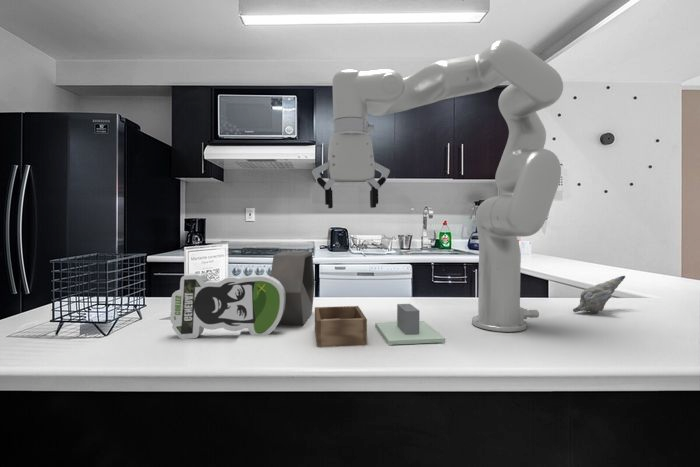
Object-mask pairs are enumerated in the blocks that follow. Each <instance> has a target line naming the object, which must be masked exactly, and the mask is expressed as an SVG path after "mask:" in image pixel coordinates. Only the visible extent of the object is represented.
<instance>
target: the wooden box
mask: <svg viewBox="0 0 700 467" xmlns="http://www.w3.org/2000/svg"><path fill="white" fill-rule="evenodd" d="M324 319H327V320H324ZM314 333H315V343H316V348H326V347H327V348H329V347H331V348H332V347H334V348H335V347H351V346H353V347H354V346H355V347H357V346H367V345H368V338H367V337H368V318H366V316H365V314H364V312H363V311H362V310H361V307H360V306H359V305H348V306H347V305H346V306H342V305H341V306H315V307H314Z"/></svg>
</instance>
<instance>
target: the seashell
mask: <svg viewBox="0 0 700 467" xmlns="http://www.w3.org/2000/svg"><path fill="white" fill-rule="evenodd" d="M625 279H626V276H625V275H621V276H617V277H615V278H611V279H609V280H606V281H604V282H602V283H598V284H596V285H595V286H592V287H588V288H585V289H584V290H583V291H582V292H581V294H580V298H579V304H578V306H577V307H574V308H573V309H572V311H573V312H574V313H578V312H584V311H586V312H589V313H591V314H597V313H599V312H602V311H603V310H604V309H605V306H606V304H607V302H608V301H609V300H610V299H611V298H612V294H614V292H615V290H616V289H617V288H618V287H619V285H620V284H621V283H622V282H624V280H625Z"/></svg>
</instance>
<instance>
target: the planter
mask: <svg viewBox="0 0 700 467" xmlns="http://www.w3.org/2000/svg"><path fill="white" fill-rule="evenodd" d="M313 258H314V257H313V251H282V252H279V253H275V254H273V257H272V264H271V268H270V275H269V276H270V277H273V278H275V279H277V280H278V281H279V282H280V283H281V284H282V285H283V287H284V290H285V295H286V303H285V310H284V313H283V316H282V318H281V320H280V322H279V323H278V325H277V326H305V325H306V324H307V321H308V320H309V319H310V318H311V316H312V314H313V307H314V306H313V305H314V297H315V296H314V294H315V283H316V282H315V272H314V260H313Z"/></svg>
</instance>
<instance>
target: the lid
mask: <svg viewBox="0 0 700 467" xmlns="http://www.w3.org/2000/svg"><path fill="white" fill-rule="evenodd" d="M396 307H397V310H396V312H397V313H396V314H397V316H396V321H382V322H381V321H380V322H379V321H378V322H375V323H374V324H375V326H374V327H375V328H376V330H377V331H378V333H379V334H380V335H381V337H382V338H383V340H384V341H385V343H386V344H387V346H390V347H391V346H392V345H413V344H436V343H438V344H439V343H441V344H446V338H445V337H444V336H443V335H442V334H440V332H438V331H437V330H436V329H434V328H433V327H432V326H431V325H429V324H428V323H427V322H426V321H425V320H420V309H418V308H416V307H415V306H414V305H413V304H411V303H397V304H396Z"/></svg>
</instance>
